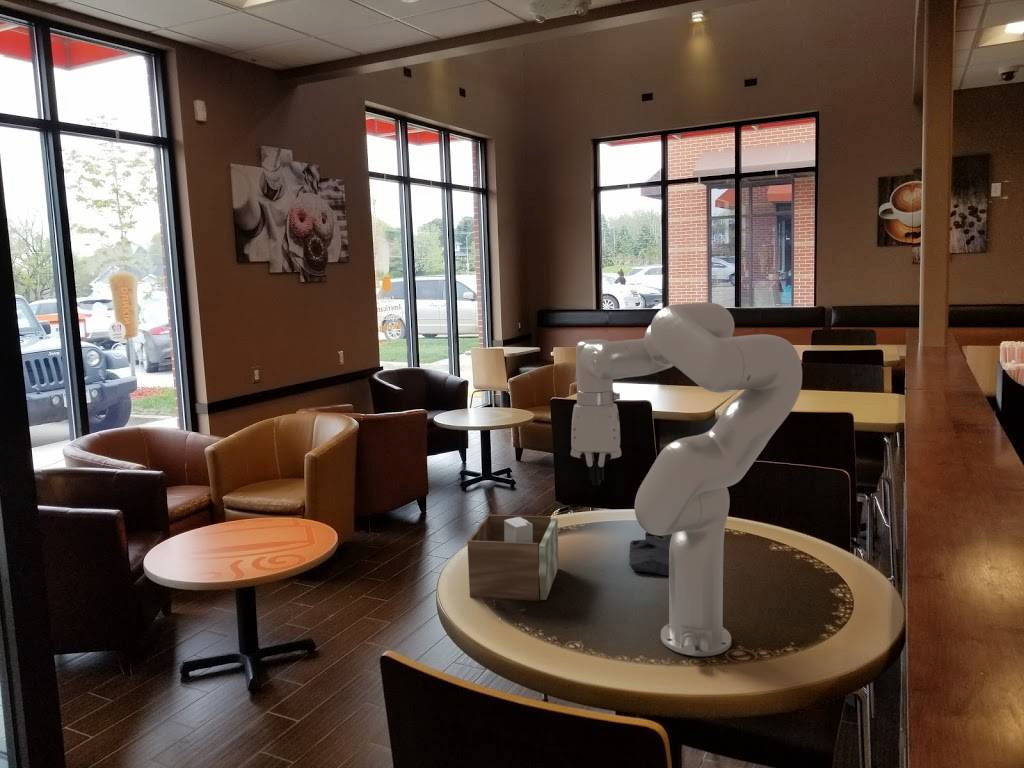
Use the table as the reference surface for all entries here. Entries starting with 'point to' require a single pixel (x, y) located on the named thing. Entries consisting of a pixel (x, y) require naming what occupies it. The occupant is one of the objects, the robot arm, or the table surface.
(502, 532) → the walnut box
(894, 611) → the table surface
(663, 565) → the black tote bag
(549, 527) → the pull-out wooden drawer
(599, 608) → the table surface
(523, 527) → the skincare box
